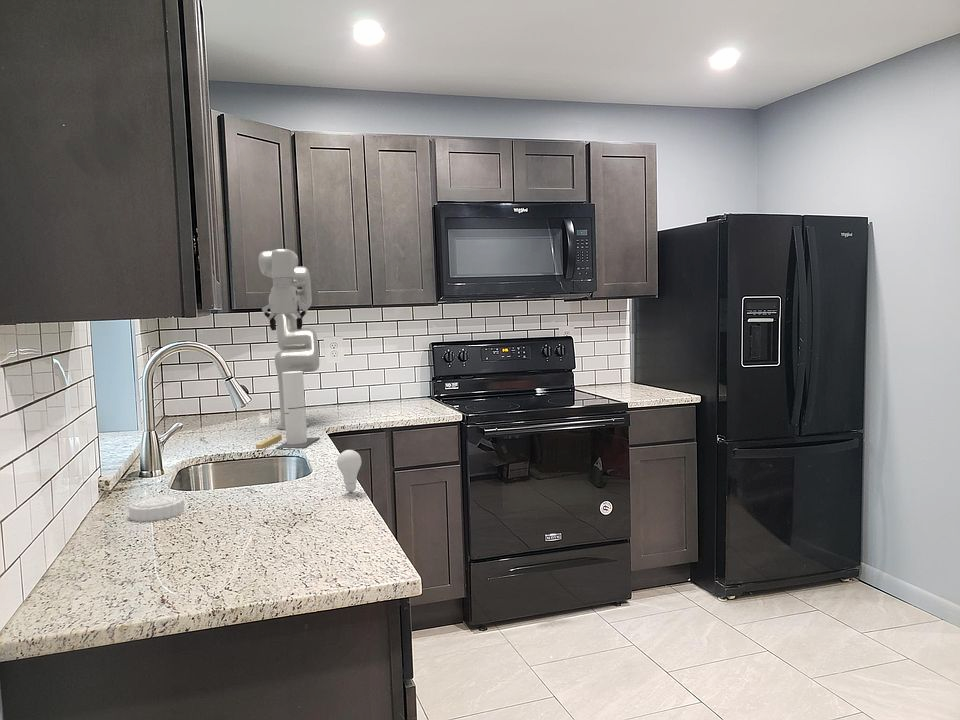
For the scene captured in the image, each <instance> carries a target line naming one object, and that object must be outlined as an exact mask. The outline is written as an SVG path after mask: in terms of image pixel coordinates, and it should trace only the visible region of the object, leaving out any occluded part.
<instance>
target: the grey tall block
mask: <svg viewBox="0 0 960 720" xmlns="http://www.w3.org/2000/svg"><path fill="white" fill-rule="evenodd" d="M282 380H283V396H284V411H285V427H286V429H285V439H286V440H285V442H287V444H302V443H306V442H307V438H308V430H307V427H306V422H307V415H306V414H307V413H306V403H305V401H306V399H305V397H306V396H305V385H304V382H305V380H304V372H303V371H291V372H283V373H282Z"/></svg>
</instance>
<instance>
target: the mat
mask: <svg viewBox="0 0 960 720" xmlns="http://www.w3.org/2000/svg"><path fill="white" fill-rule="evenodd" d="M320 439H321V437H320V436H319V437H307V442H306V443H302V444H287V442H286V441H285V442H284V443H282V444H280V445H278V446H277V447H275V450H276V449H280V448H281V450H284V449H283V448H305V447H306V448H308V447H309V445H310V446H311V445H313V444H315V443H316V442H318V441H319V440H320ZM307 446H308V447H307ZM306 448H305V449H306Z"/></svg>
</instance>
